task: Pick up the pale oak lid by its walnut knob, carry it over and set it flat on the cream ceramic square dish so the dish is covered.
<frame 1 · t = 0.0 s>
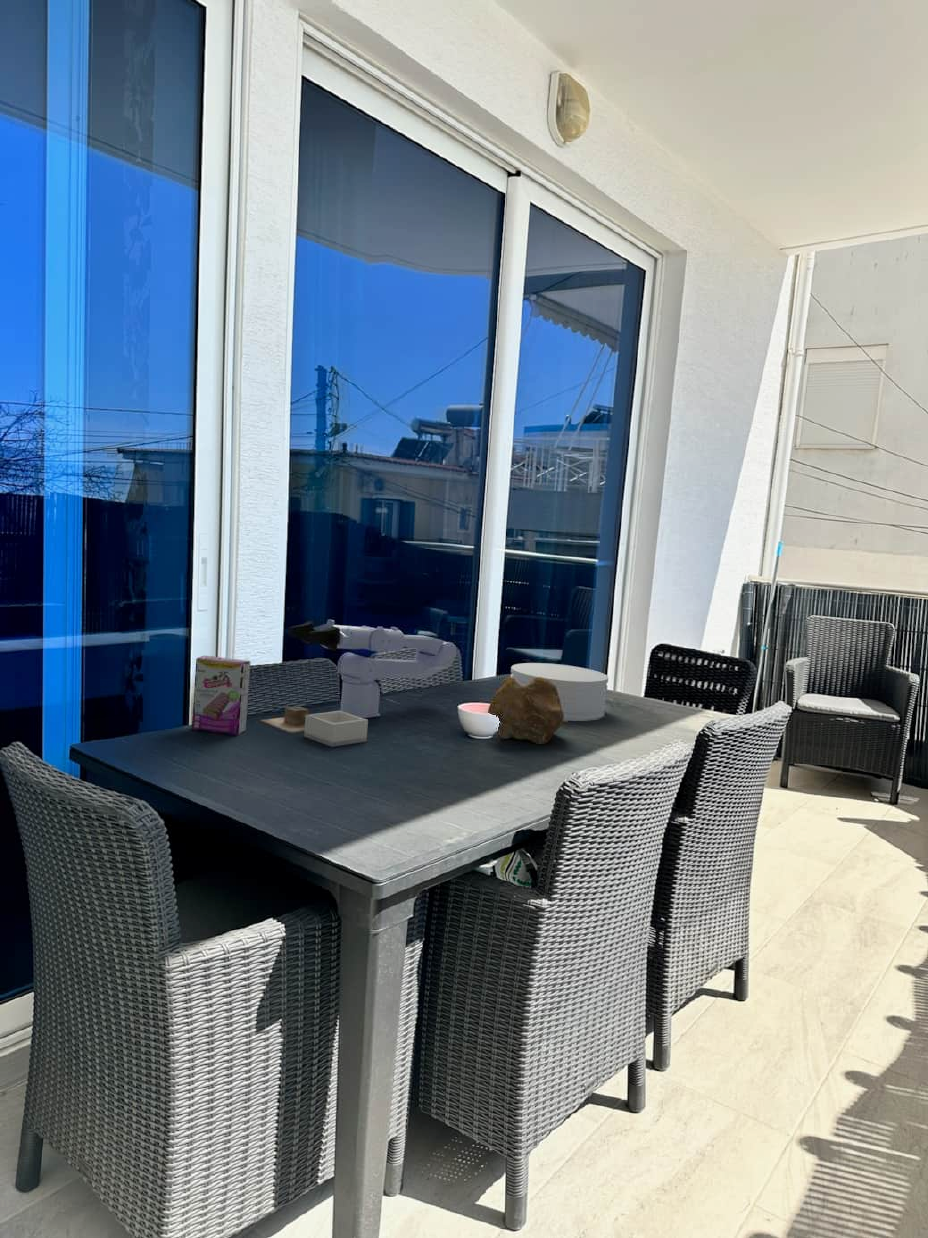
hand: (299, 634, 209), 22 cm above the table, fingers open, 7 cm apart
grey short cylinder: (555, 711, 255), on the table
dish: (335, 738, 201), on the table
rough brown rock: (530, 739, 218), on the table
candy bar box: (218, 731, 199), on the table
lid: (295, 727, 211), on the table
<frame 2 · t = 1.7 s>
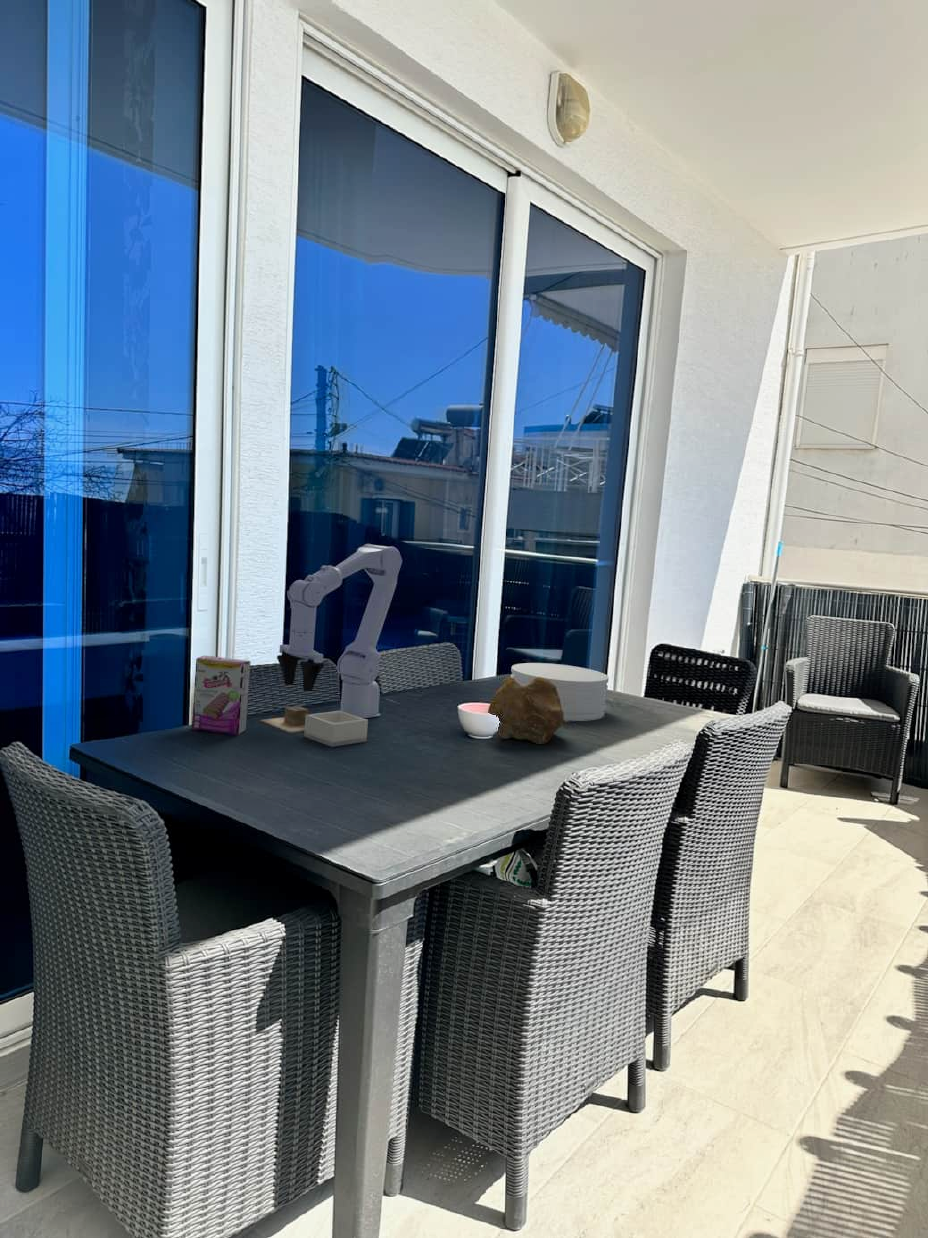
hand: (298, 687, 210), 9 cm above the table, fingers open, 7 cm apart
nothing on the table moved.
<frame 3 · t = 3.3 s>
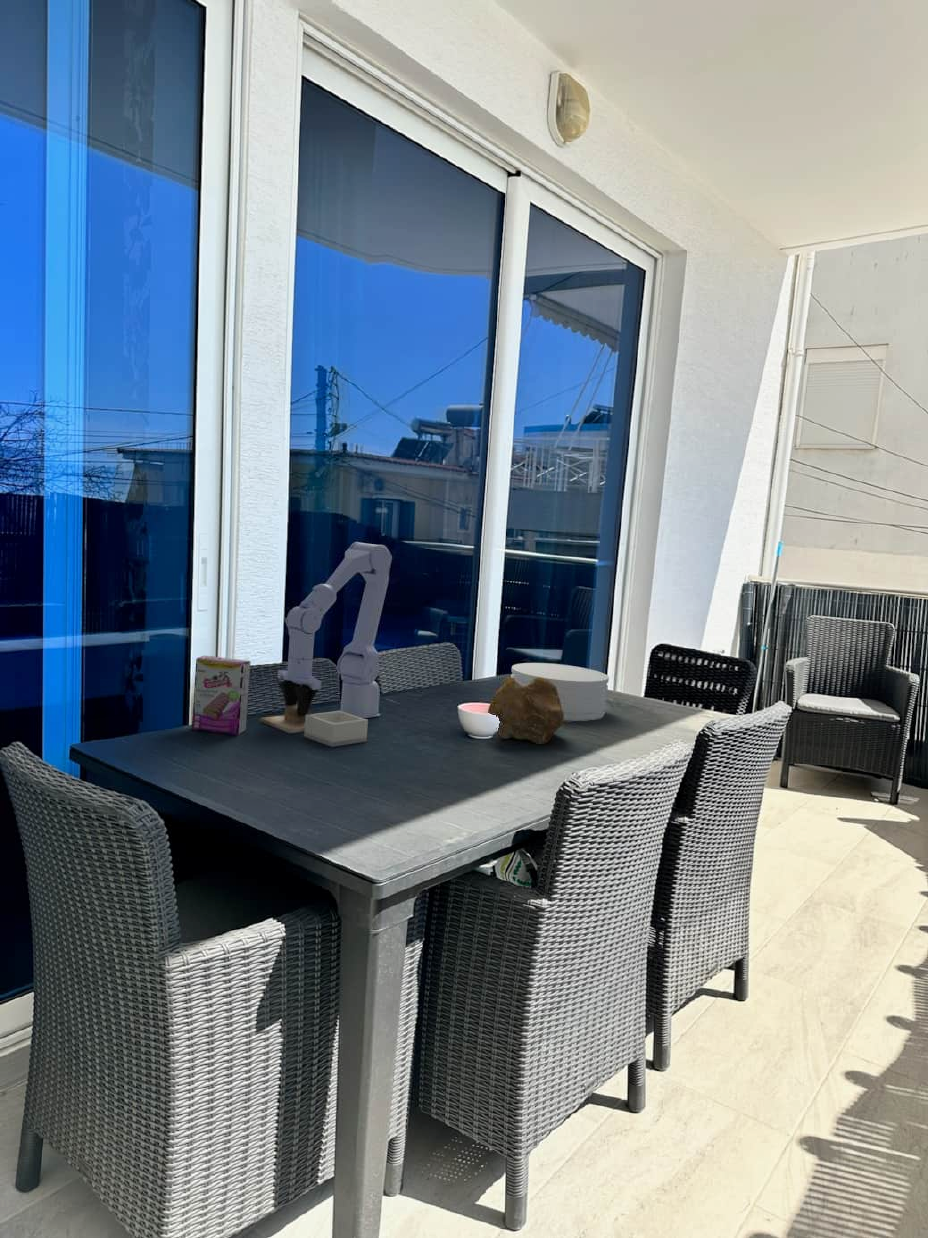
hand: (296, 713, 210), 3 cm above the table, fingers closed on lid, 4 cm apart
lid: (295, 725, 211), on the table, touching gripper
everything else where it was.
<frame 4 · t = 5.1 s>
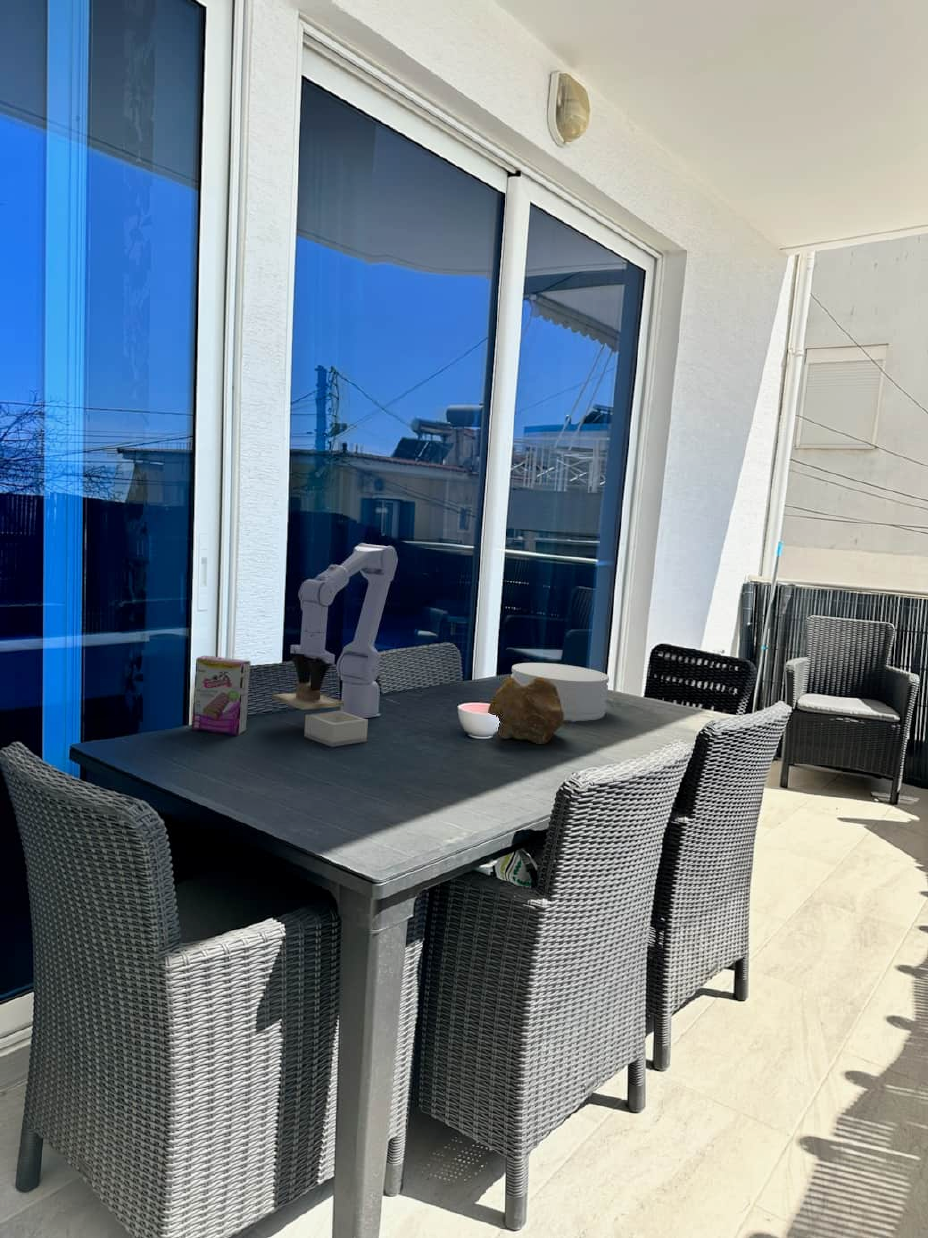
hand: (309, 688, 207), 10 cm above the table, fingers closed on lid, 4 cm apart
lid: (307, 702, 207), point 6 cm above the table, touching gripper
everything else where it was.
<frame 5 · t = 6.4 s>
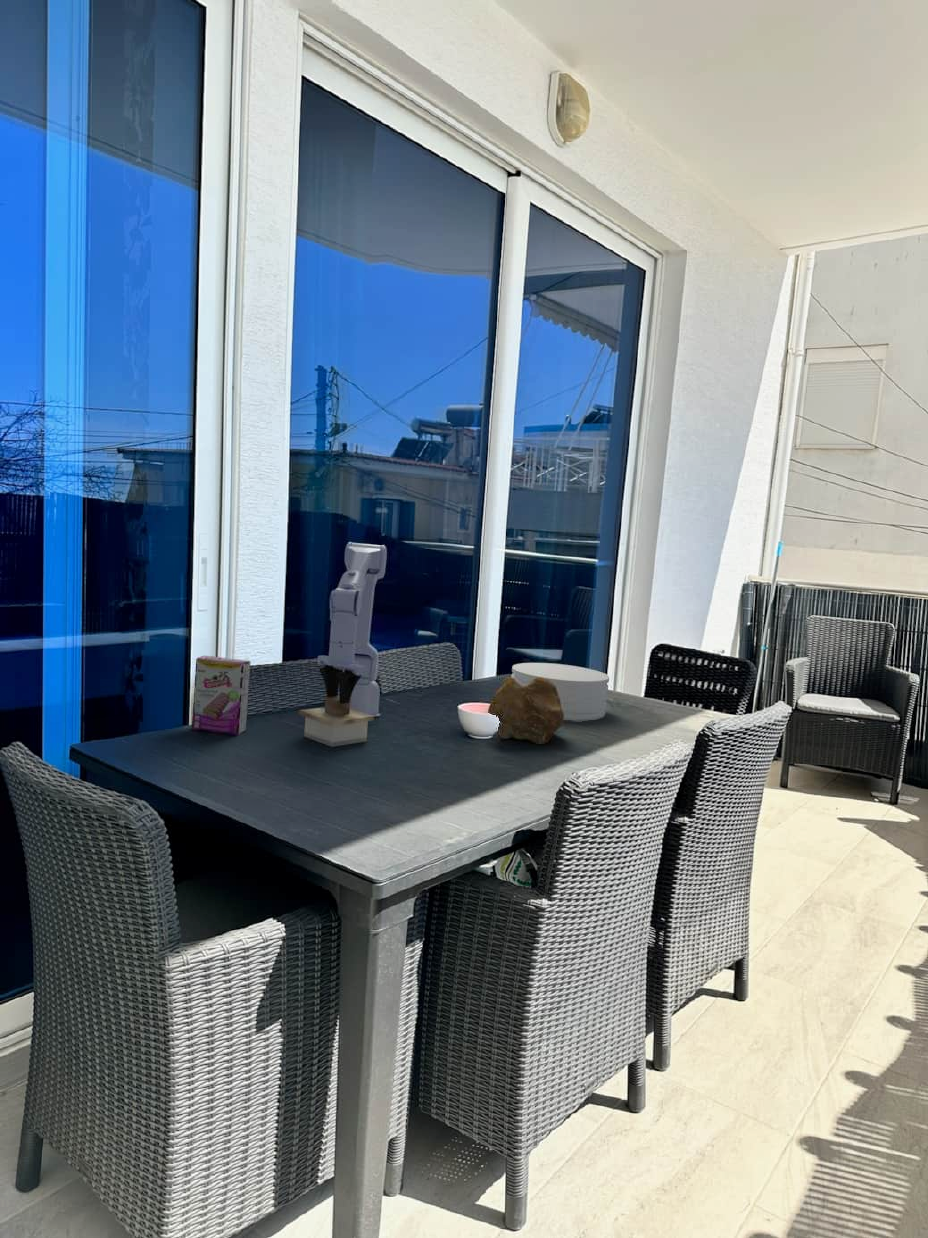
hand: (338, 700, 200), 9 cm above the table, fingers closed on lid, 4 cm apart
lid: (336, 717, 200), point 5 cm above the table, touching dish, gripper
everything else where it was.
when the fingers open (9 cm above the table, at t = 7.0 s): lid stays where it is, resting on dish.
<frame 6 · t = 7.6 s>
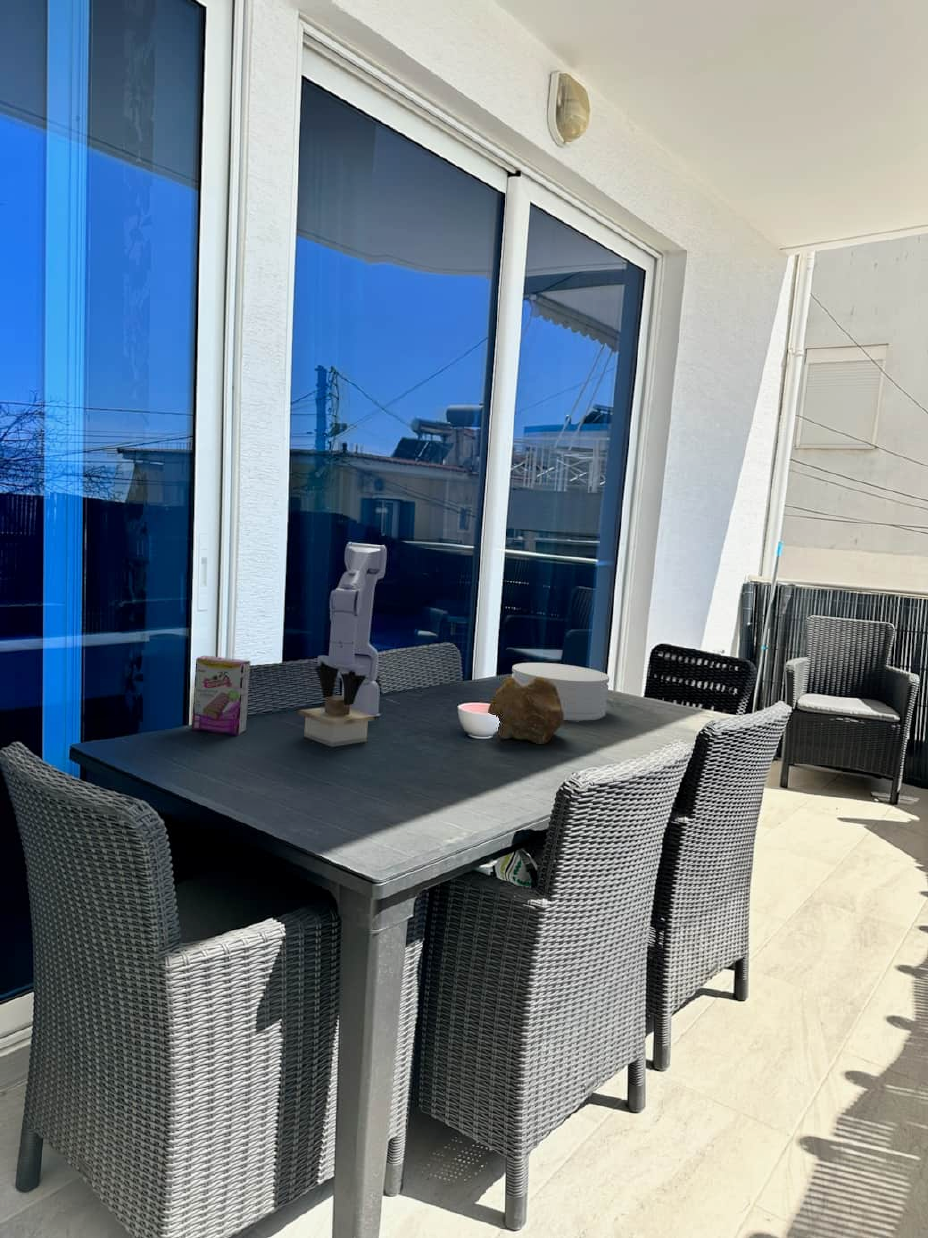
hand: (338, 701, 200), 9 cm above the table, fingers open, 7 cm apart
lid: (336, 717, 200), point 5 cm above the table, touching dish
everything else where it was.
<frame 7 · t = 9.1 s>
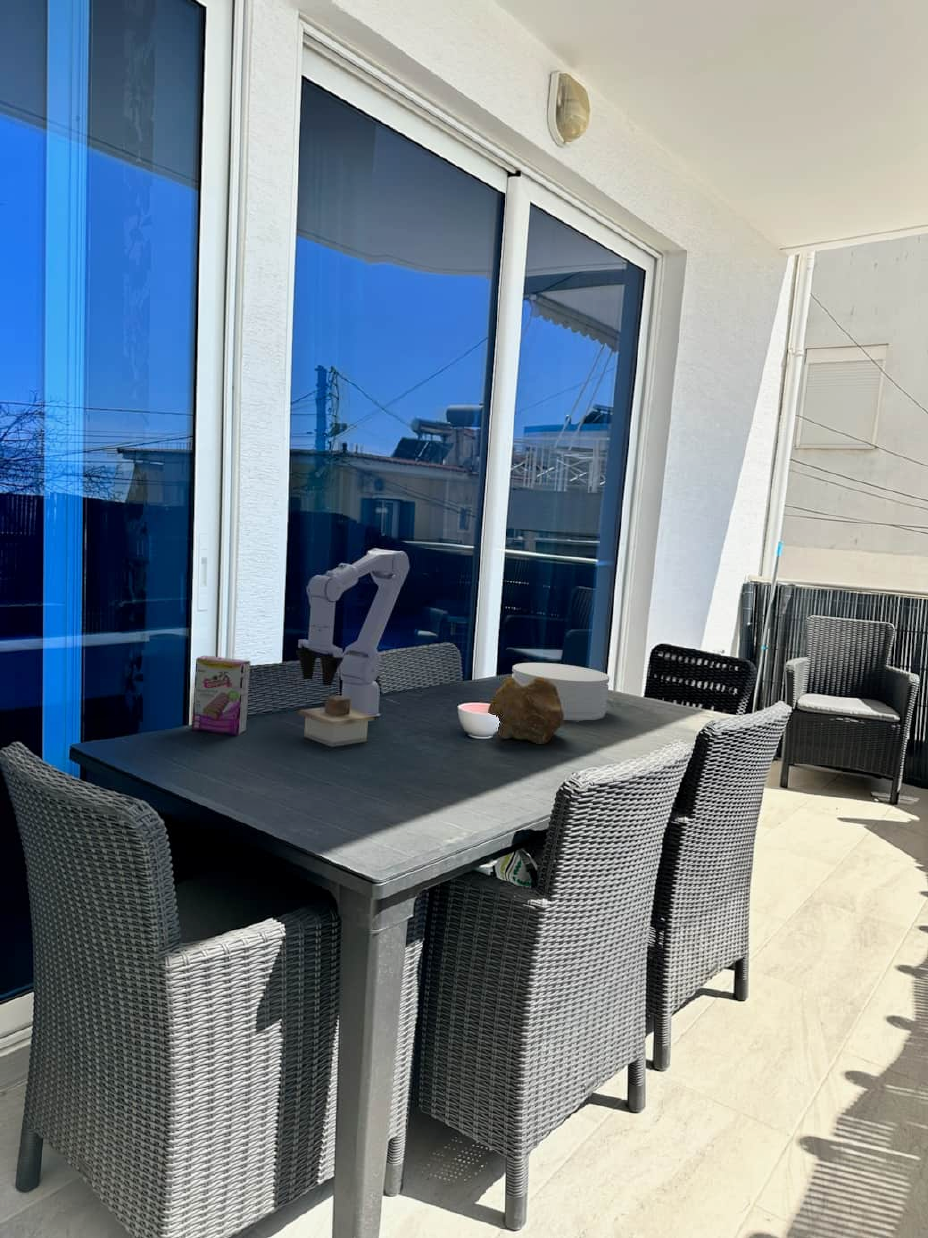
hand: (317, 682, 211), 10 cm above the table, fingers open, 7 cm apart
nothing on the table moved.
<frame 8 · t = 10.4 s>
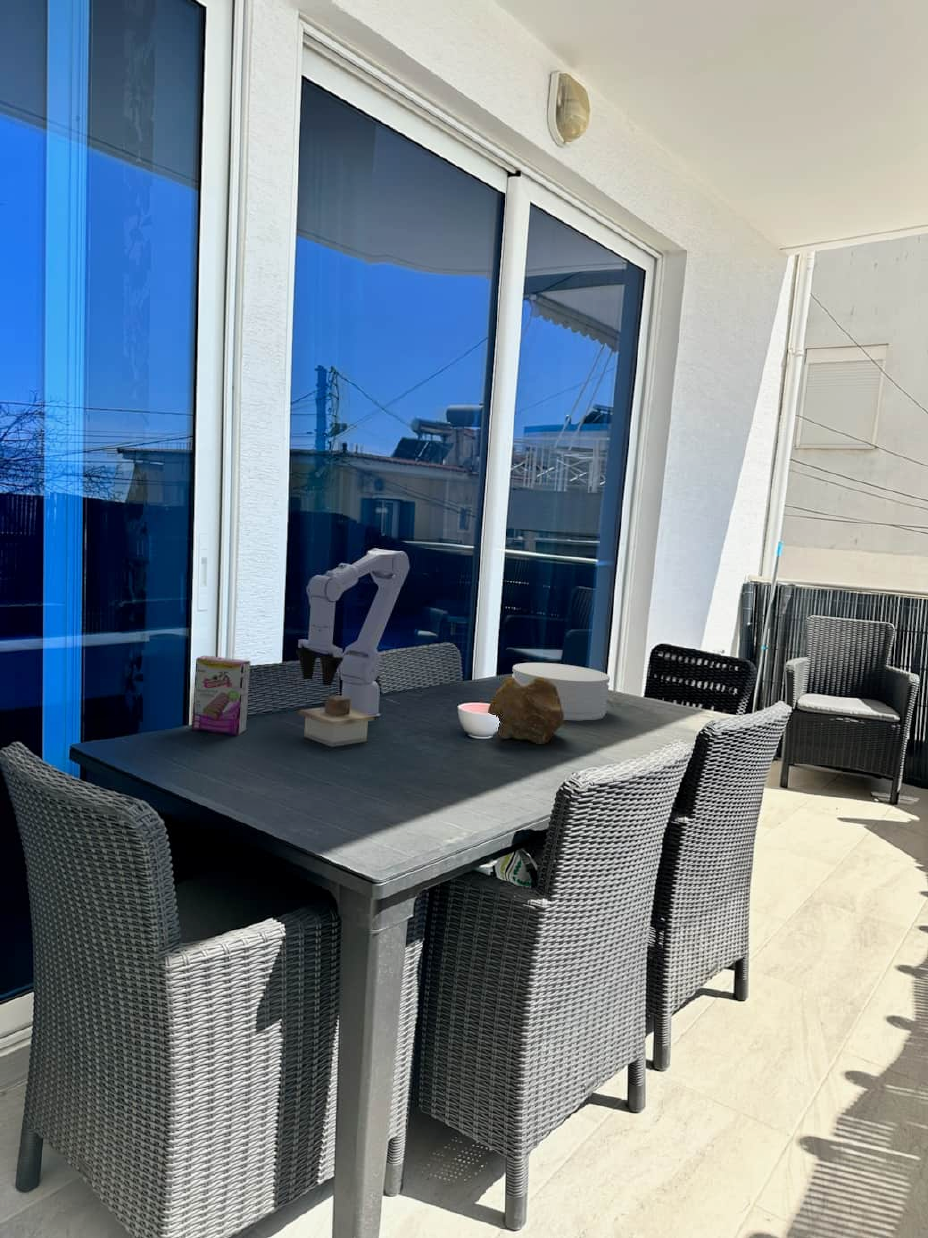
hand: (317, 682, 211), 10 cm above the table, fingers open, 7 cm apart
nothing on the table moved.
at the end: lid 0.1 cm off-centre on the dish, point 5.0 cm above the dish's base; lid tilted 0°; the gripper is holding nothing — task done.
